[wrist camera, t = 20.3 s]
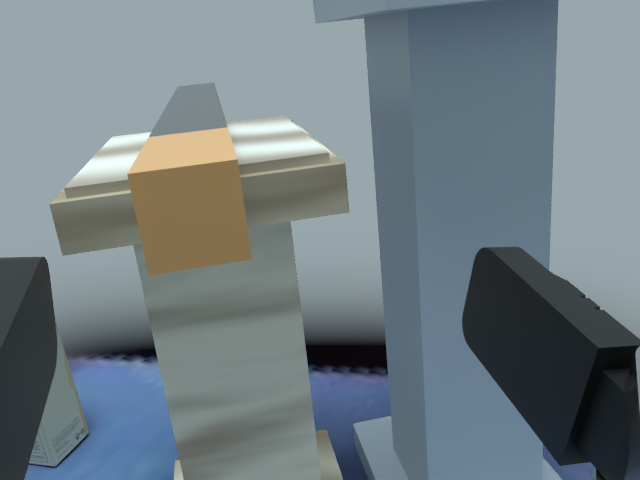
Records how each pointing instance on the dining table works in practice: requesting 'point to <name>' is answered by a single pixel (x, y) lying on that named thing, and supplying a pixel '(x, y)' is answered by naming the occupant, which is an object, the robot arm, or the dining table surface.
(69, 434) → the skincare box
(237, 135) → the marble stand
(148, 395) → the dining table surface
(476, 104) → the tall stand
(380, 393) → the dining table surface
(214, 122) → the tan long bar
